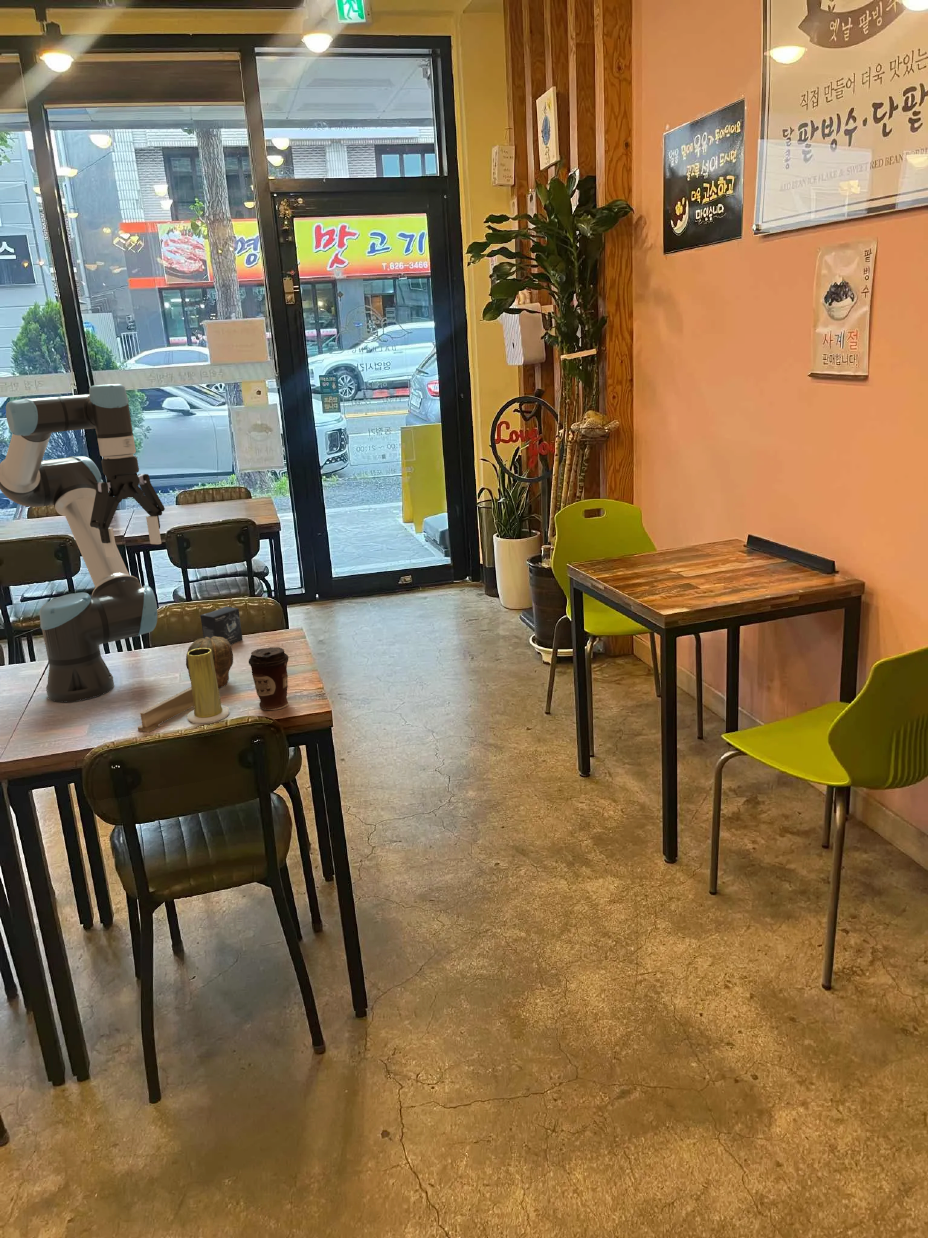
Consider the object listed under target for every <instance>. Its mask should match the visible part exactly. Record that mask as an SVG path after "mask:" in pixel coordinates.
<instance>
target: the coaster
mask: <svg viewBox="0 0 928 1238" xmlns="http://www.w3.org/2000/svg"><path fill="white" fill-rule="evenodd" d="M221 707H222V709H223V710H222V712H221V713H220V714H218V715H216V716H212V717H207V718H200V717H196V716H195V715H194V709H193V710H190V712H188V714H187V715H186V717H187V721H188V722H189V723H193V724H196V725H197V724H203V725H204V724H211V723H216V722H218V721H221V720H223V719H225V718H227V717H228V716H229V715H230V708H229V707H228V706H225V705H222V704H221Z"/></svg>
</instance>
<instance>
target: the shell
mask: <svg viewBox="0 0 928 1238" xmlns="http://www.w3.org/2000/svg"><path fill="white" fill-rule="evenodd" d="M198 648H209V649H211V650H212V655H213V661H214V667H215V673H216V678H217V684H218V689H222V688H223V687H225V686H226V685H227V684H228V683H229V680H230V676H229V673H230V670H231V667H232V666H233V663H234V653H233V647H232V644H231V645H230V643H229V641H228V640H226V639H225V638H223V637H216V636H213V637H212V638H209V637H205V638H203V637H202V638H198V639H196V640H194V641H193V642H192V643H191V644H190V646H188V648H187V649H188V650H187V652H186V656H185V657H186V658H185V666H186V669H187V671H188V677H189V679H190V672H189V666H188V658H187V653H188V652H189V651H191V650H193V649H198ZM190 682H191V679H190Z"/></svg>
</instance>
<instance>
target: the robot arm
mask: <svg viewBox="0 0 928 1238" xmlns="http://www.w3.org/2000/svg"><path fill="white" fill-rule="evenodd" d="M88 390H89V392H88V393H84V394H75V395H64V396H63V395H62V396H52V397H51V396H50V397H37V398H35V397H34V398H27V397H25V398H21V399H16V400H15V399H14V400H10V401H9V402H7V403H6V405H5V417H6V423H7V425H8V428H9V431H10V432H11V438H10V442H9V445H8V449H7V452H6V455H5V458H4V459H3V460H2V461H1V462H0V491H1V493H2V494H3V495H4V496H5V497H6V498H8V499H9V500H10V501H12V502H13V503H16V504H18V505H20V506H24V507H28V508H41V507H49V506H54V509H55V511H56V513H57V514H58V515H60V516H63V517H65V519H66V522H67V524H68V527H69V528H70V531H71V533H72V536H73V537H74V540H75V543H76V545H77V546H78V549H79V552H80V554H81V557H82V559H83V562H84V564H85V566H86V568H87V571H88V573H89V576H90V578H91V580H92V582H93V585H94V589H93V591H92V593H91V596H90V594H89V593H87V592H83V591H82V592H76V593H69V594H68V593H67V594H64V595H61V596H58V597H55V598H53V599H51V600H49V601H47V602H46V603H45V604H43V605H42V606H41V607H40V609H39V622H40V625H39V626H40V629H41V631H42V635H43V640H44V645H45V646H44V647H45V650H46V655H47V660H48V665H49V669H48V674H47V675H48V676H47V684H46V687H45V689H46V690H45V691H46V695H47V699H48V700H49V701H52V702H56V703H71V702H79V701H80V702H81V701H85V700H89V699H93V698H96V697H99V696H102V695H104V694H106V693H109V691H112V689H113V688H114V687H115V682H114V677H113V675H112V673H111V672H110V669H109V667H108V666H107V664H106V662H105V660H104V659H103V658H102V655H101V649H100V646H101V645H103V644H109V643H112V642H117V641H121V640H125V639H130V638H133V637H139V636H142V635H145V634H149V633H151V632H154V630H155V628H156V627H157V623H158V605H157V601H156V599H157V598H156V595H155V593H154V592H155V591H154V590H153V588H151V586H149V585H143V586H142V585H141V583H140V581H139V578H137V577H136V576H134V575H131V574H130V573H129V571H128V569H127V567H126V564H125V562H124V560H123V558H122V556H121V553H120V551H119V548H118V546H117V544H116V540H115V534H114V528H113V527H111V524H112V521H113V518H114V516H115V515H116V513H117V509H118V506H119V504H120V503H121V502H122V501H123V500H127V499H129V498H133V500H135V501H136V502H137V504H138V505H139V506H140V507H141V508H142V509H143V510H144V511H145V512H146V513H147V514H148V515H147V516H145V518H146V519H145V520H146V525H147V530H148V531H147V532H148V536H149V538H148V539H149V543H150V545H161V544H163V543H162V539H161V538H162V537H161V531H160V529H161V524H160V516H162V515H163V512H164V511H165V509H166V508H165V505H164V504H163V502H162V501H161V498H160V497H159V495H158V493H157V492H156V490H155V488H154V486H153V485H152V483H151V479H150V476H149V474H148V473H139V471H140V468H139V467H140V466H139V463H138V462H139V461H138V457H137V455H134V454H136V453H137V451H136V449H137V448H136V444H135V437H134V432H133V426H132V419H131V412H130V407H129V406H130V405H129V404H130V403H129V402H130V401H129V398H128V394H127V392H126V391H127V390H126V387H125V386H124V385H123V384H121V383H112V384H111V383H109V384H97V385H91V386H90V387H89V389H88ZM90 429H91V430H92V429H95V433H96V438H97V443H98V449H99V455H100V456H101V457H102V459H101V462H100V463H101V466H102V467H101V468H102V474H103V475H104V476H105V477H106V482H104V481H103V479H102V475H101V472H100V470H99V468H98V466H97V464H96V463H95V462H94V461H93V460H92V459H91V458H89V457H87V456H84V455H83V456H82V455H80V456H79V455H78V456H74V455H73V456H72V455H71V456H70V455H69V456H67V457H62V458H51V459H44V456H45V452H46V451H47V447H48V445H49V441H50V439H51V435H52V434H53V433H61V432H70V431H80V430H90ZM138 473H139V474H138Z"/></svg>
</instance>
